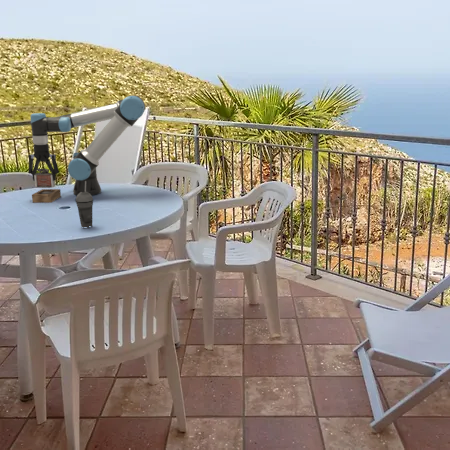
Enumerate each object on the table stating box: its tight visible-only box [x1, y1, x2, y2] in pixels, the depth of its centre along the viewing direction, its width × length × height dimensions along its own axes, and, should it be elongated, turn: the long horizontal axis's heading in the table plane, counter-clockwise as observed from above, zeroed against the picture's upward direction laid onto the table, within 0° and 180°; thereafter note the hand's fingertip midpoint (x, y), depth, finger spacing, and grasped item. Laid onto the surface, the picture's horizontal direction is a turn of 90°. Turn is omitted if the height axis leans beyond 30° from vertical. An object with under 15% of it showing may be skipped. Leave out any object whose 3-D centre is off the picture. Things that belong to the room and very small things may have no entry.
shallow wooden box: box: [31, 188, 62, 204], centre depth 271 cm, size 10×14×4 cm
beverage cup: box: [75, 181, 94, 228], centre depth 217 cm, size 7×7×20 cm
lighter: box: [36, 167, 53, 189], centre depth 269 cm, size 8×3×10 cm, turn 84°
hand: (45, 186), depth 270 cm, fingers closed on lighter, 8 cm apart
